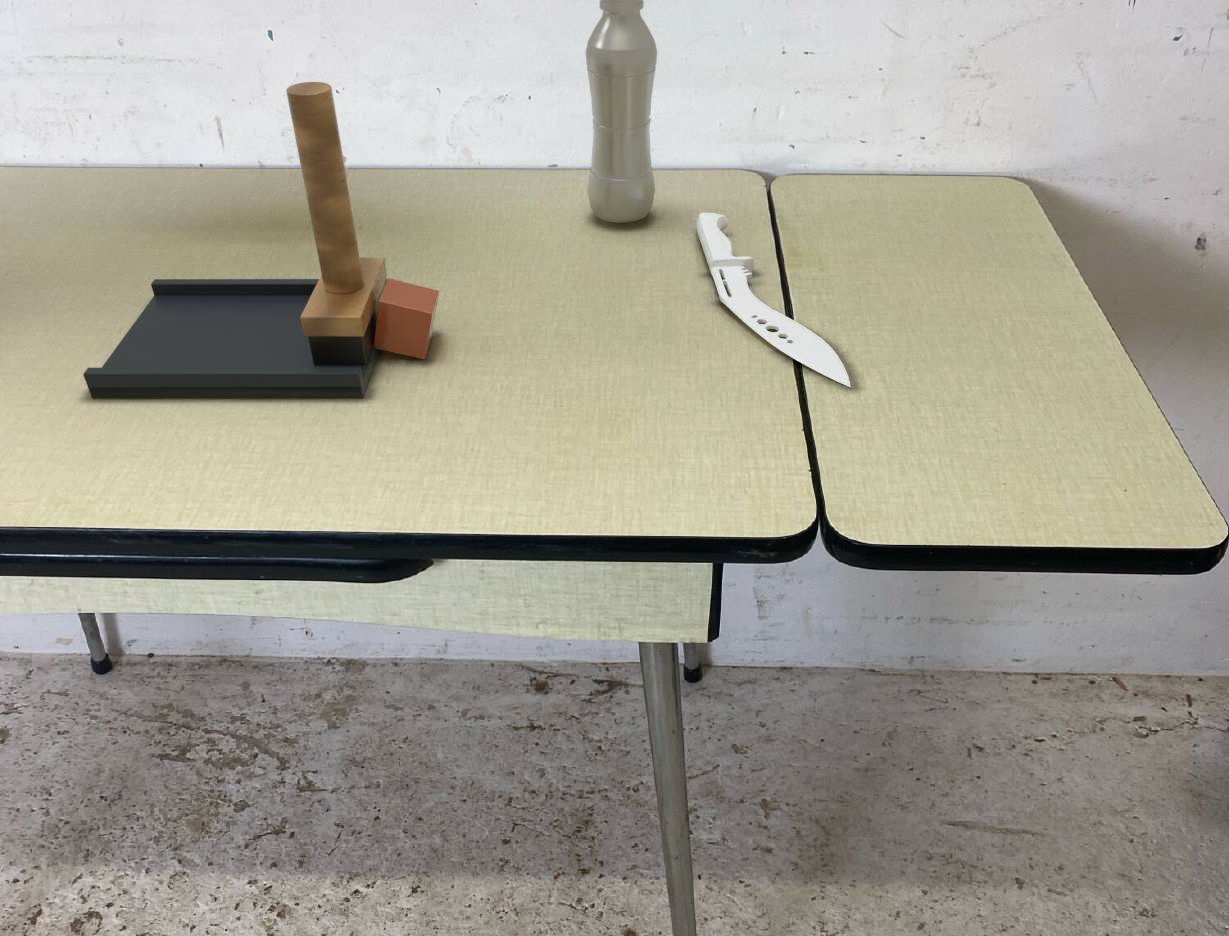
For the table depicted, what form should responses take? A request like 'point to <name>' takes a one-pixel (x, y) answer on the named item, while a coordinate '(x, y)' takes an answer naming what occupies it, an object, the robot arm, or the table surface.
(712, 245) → the knife
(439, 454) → the table surface
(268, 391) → the tray
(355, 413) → the table surface
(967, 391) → the table surface
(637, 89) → the plastic bottle
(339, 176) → the brush
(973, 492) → the table surface
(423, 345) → the block
